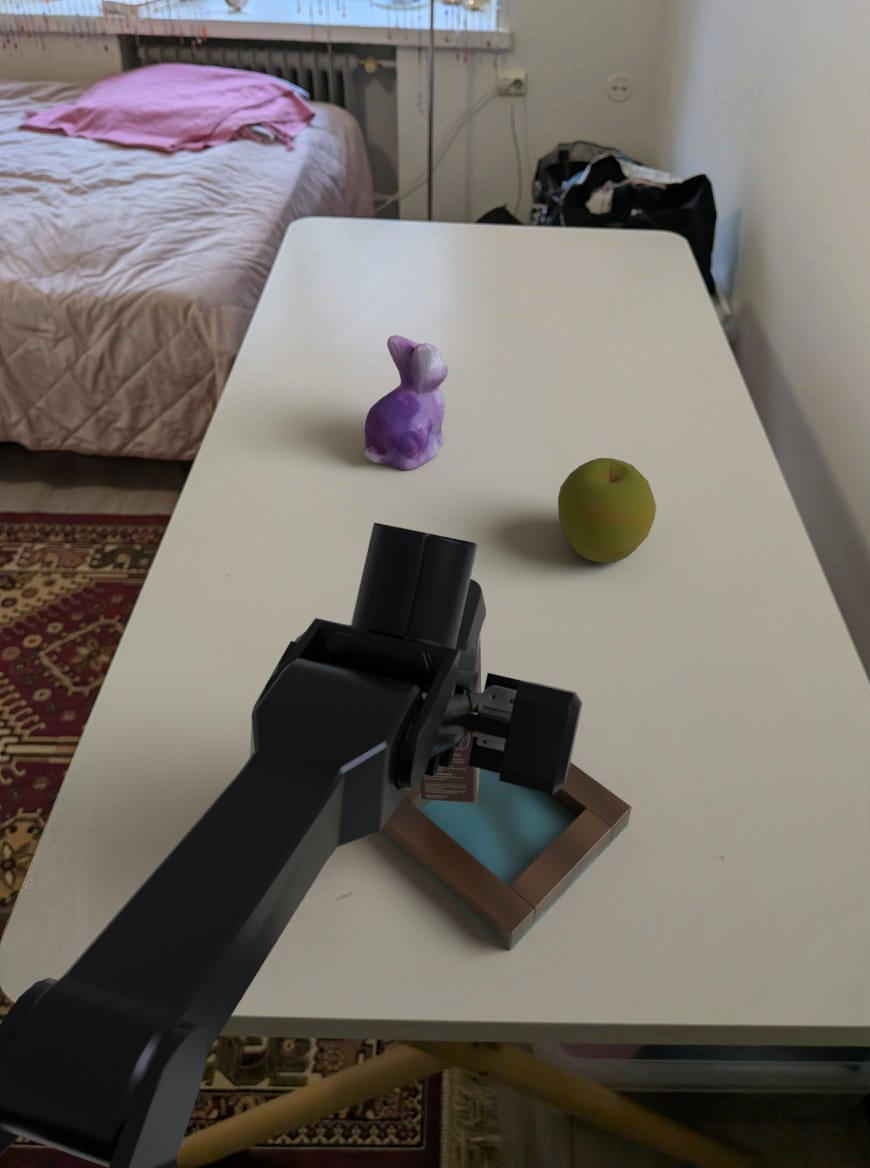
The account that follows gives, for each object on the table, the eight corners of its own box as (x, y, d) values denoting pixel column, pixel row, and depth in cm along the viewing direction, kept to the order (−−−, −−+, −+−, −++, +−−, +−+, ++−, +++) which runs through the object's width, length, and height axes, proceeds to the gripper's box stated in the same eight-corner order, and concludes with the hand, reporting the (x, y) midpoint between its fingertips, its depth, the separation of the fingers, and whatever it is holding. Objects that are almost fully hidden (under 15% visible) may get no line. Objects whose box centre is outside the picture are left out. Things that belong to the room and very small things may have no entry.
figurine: (448, 423, 118) (448, 313, 108) (445, 473, 110) (445, 358, 100) (371, 421, 118) (365, 310, 108) (363, 471, 110) (355, 356, 100)
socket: (510, 951, 67) (511, 934, 66) (366, 821, 75) (365, 803, 73) (628, 824, 75) (632, 806, 74) (487, 719, 83) (488, 701, 81)
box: (424, 737, 74) (421, 626, 67) (482, 741, 74) (486, 630, 66) (415, 803, 70) (411, 692, 62) (476, 807, 69) (480, 697, 62)
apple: (536, 533, 102) (543, 448, 95) (612, 508, 106) (624, 425, 99) (587, 591, 96) (599, 505, 89) (666, 562, 99) (683, 477, 92)
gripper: (593, 610, 52) (605, 619, 67) (277, 543, 56) (357, 565, 71) (550, 815, 51) (573, 776, 66) (232, 733, 55) (323, 714, 70)
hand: (454, 702), depth 68 cm, fingers closed on box, 5 cm apart
